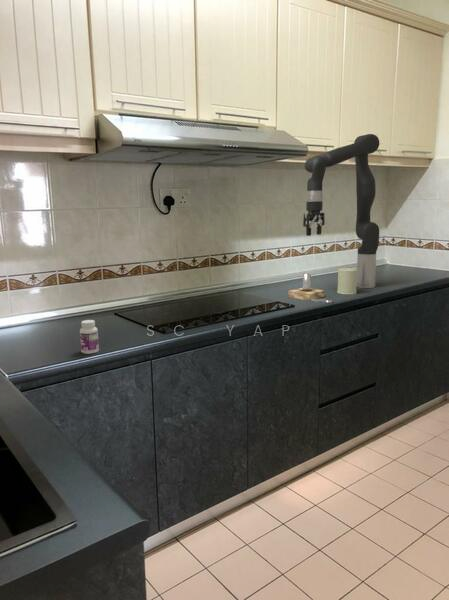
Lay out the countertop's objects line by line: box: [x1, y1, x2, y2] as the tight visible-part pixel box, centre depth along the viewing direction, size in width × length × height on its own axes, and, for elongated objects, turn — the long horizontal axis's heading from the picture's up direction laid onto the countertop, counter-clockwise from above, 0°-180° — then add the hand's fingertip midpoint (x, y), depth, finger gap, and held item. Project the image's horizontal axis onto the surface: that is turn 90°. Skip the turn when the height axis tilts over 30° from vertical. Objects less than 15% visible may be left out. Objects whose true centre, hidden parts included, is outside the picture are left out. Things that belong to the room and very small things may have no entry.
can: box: [336, 267, 357, 296], centre depth 235 cm, size 9×9×12 cm
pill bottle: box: [79, 319, 100, 355], centre depth 149 cm, size 5×5×10 cm
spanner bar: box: [310, 298, 333, 304], centre depth 216 cm, size 11×3×1 cm, turn 45°
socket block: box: [287, 287, 325, 301], centre depth 227 cm, size 12×12×3 cm
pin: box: [302, 272, 312, 292], centre depth 226 cm, size 4×4×11 cm
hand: (313, 235), depth 232 cm, fingers open, 8 cm apart
